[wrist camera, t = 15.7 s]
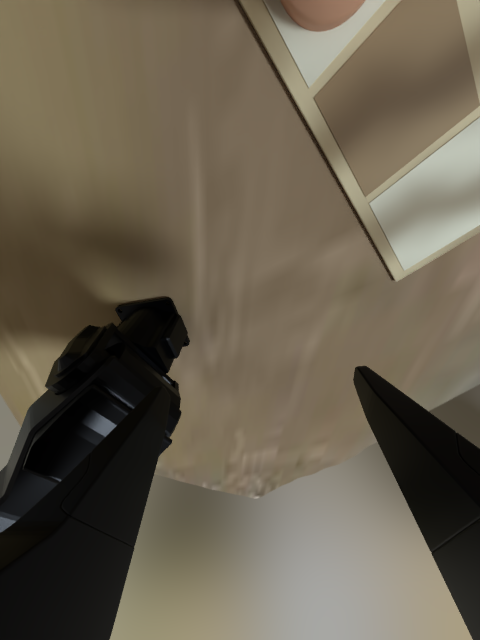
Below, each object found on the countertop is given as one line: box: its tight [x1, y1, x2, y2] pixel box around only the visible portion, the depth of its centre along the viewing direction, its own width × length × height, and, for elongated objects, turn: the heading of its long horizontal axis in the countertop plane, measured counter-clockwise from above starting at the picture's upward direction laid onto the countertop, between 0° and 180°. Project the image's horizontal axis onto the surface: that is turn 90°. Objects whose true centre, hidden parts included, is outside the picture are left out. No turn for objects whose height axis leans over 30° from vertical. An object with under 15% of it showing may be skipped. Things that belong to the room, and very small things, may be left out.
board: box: [238, 0, 480, 282], centre depth 13 cm, size 25×9×1 cm, turn 43°
